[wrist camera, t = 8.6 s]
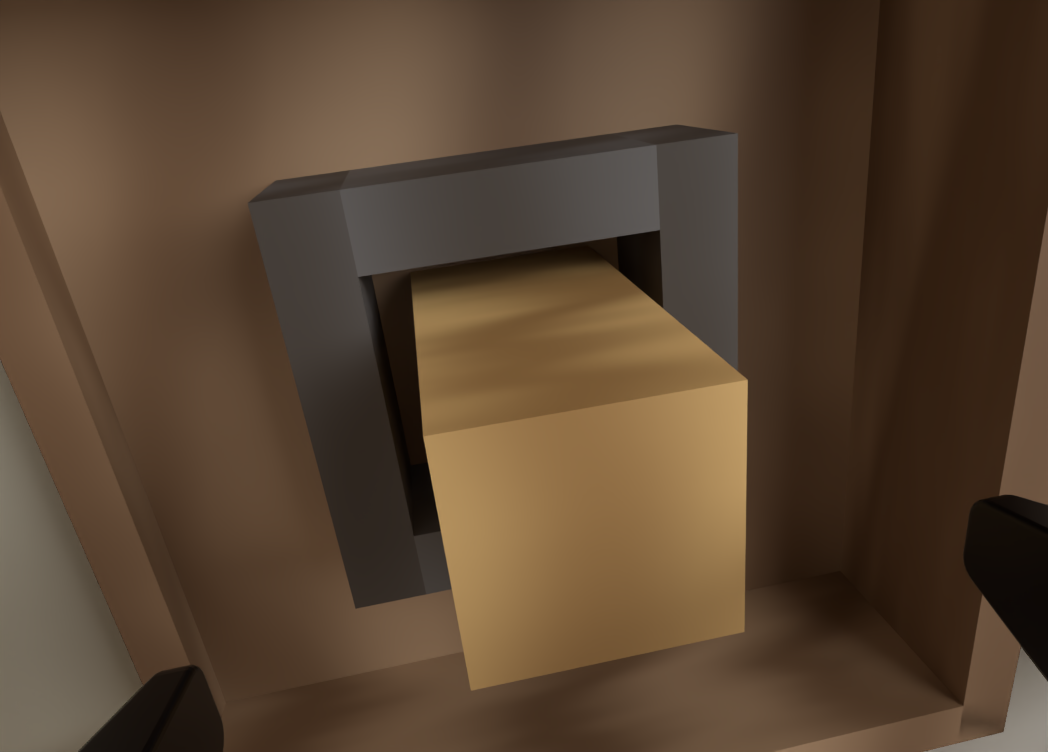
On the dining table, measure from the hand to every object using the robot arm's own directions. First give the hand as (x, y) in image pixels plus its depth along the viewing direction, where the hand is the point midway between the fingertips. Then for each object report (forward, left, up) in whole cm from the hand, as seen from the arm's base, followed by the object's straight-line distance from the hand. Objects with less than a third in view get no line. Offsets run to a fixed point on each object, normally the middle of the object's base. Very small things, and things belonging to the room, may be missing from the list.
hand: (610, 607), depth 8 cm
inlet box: (0, 0, -10) cm, 10 cm away
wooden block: (0, 0, -9) cm, 9 cm away
